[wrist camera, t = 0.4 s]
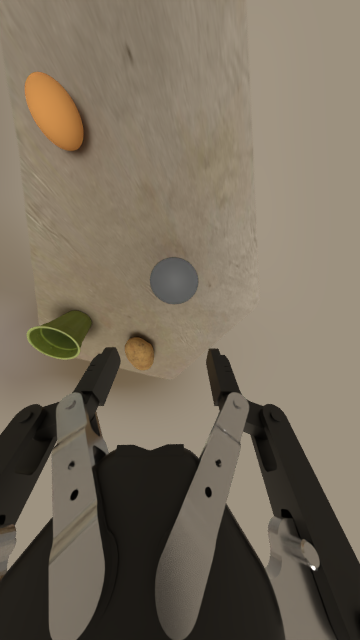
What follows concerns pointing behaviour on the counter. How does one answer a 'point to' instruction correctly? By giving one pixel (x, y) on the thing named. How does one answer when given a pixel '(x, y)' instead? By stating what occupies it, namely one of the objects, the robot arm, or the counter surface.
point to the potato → (139, 353)
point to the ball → (54, 111)
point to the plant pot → (61, 335)
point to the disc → (174, 280)
